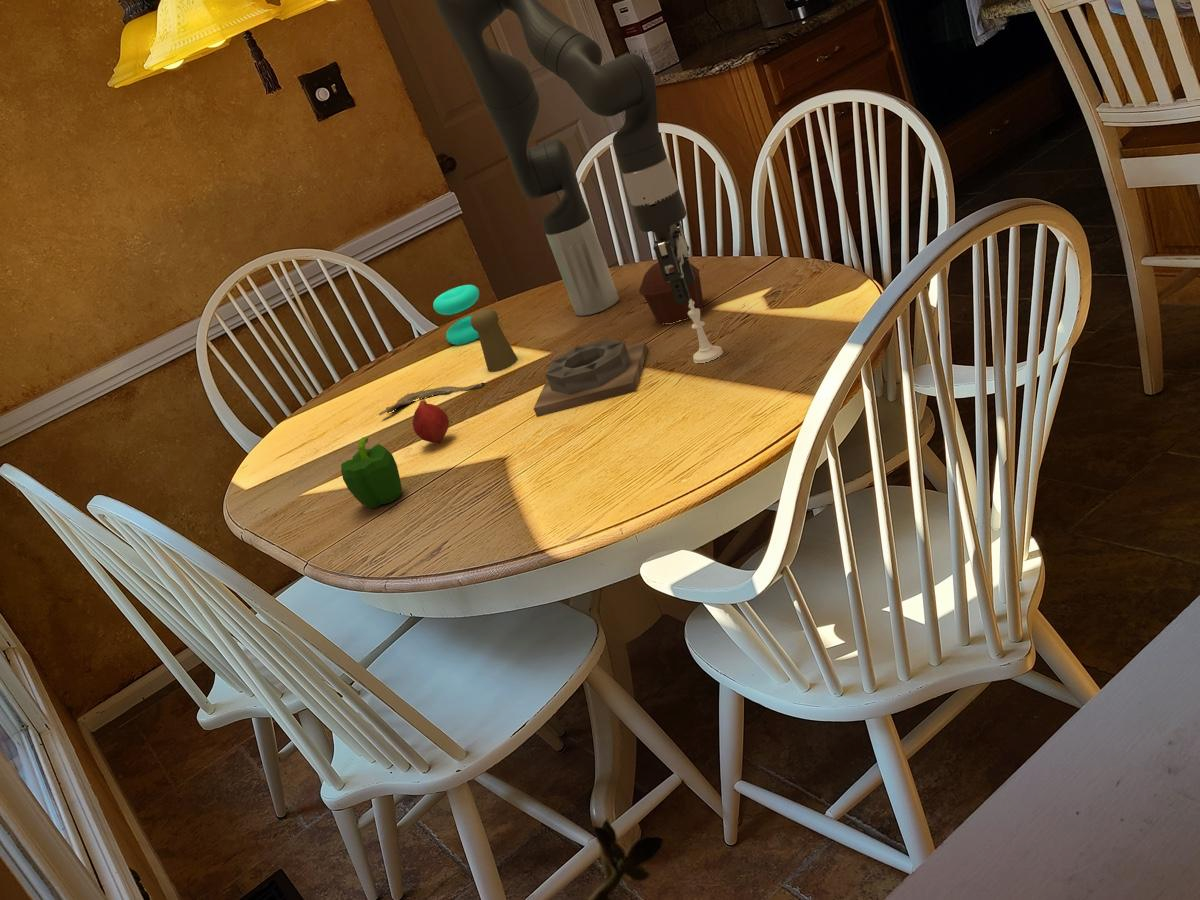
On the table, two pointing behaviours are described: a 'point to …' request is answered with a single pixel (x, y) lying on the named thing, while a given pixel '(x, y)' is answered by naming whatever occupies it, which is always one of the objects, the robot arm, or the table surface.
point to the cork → (493, 341)
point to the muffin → (669, 295)
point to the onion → (430, 422)
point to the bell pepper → (372, 475)
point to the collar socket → (591, 375)
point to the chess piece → (702, 338)
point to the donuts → (456, 303)
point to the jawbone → (427, 393)
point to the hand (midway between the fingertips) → (686, 292)
